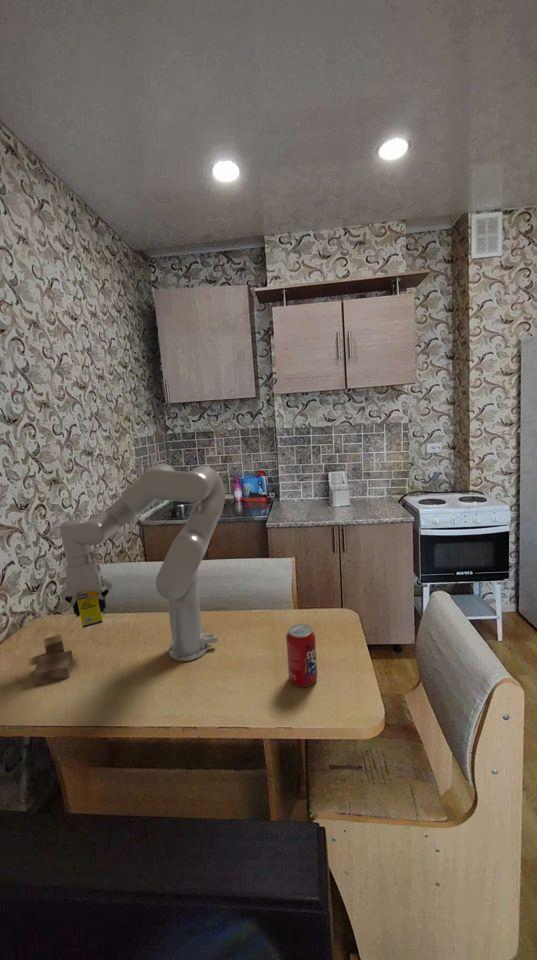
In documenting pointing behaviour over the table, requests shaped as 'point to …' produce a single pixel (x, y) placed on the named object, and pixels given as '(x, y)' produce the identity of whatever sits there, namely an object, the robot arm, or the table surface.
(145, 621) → the table surface
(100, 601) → the robot arm
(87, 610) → the supplement box
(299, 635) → the soda can
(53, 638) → the block
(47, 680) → the base block
